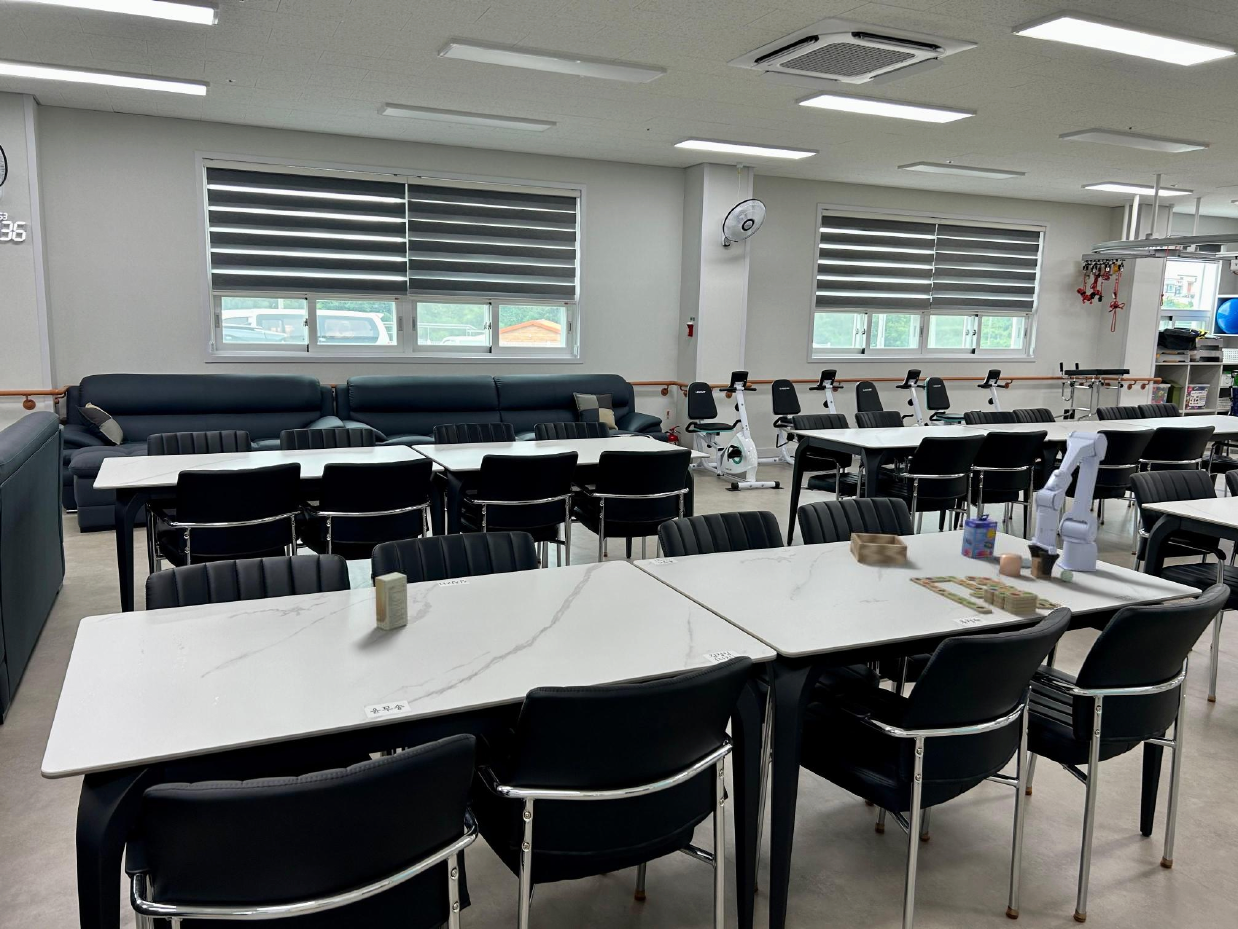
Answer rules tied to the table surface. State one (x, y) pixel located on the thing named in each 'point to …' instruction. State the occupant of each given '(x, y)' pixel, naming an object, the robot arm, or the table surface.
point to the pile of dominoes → (989, 594)
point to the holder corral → (878, 548)
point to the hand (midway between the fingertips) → (1041, 571)
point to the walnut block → (1038, 569)
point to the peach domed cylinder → (1010, 564)
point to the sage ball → (1066, 575)
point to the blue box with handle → (979, 537)
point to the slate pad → (1024, 564)
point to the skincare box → (391, 601)
